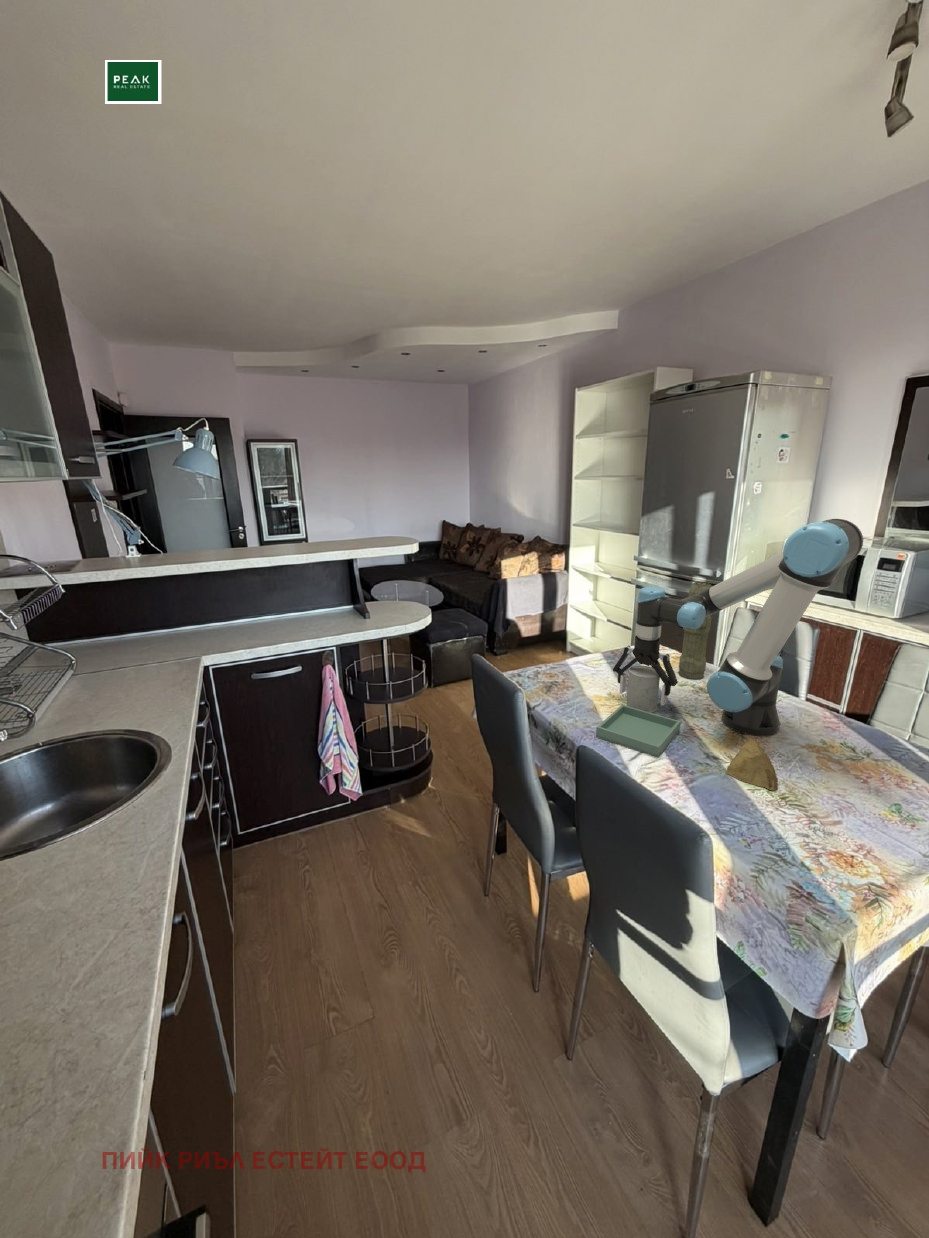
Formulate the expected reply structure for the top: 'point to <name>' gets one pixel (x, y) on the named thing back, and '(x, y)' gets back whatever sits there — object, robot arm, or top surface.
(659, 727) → the tray
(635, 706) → the speckled white canister
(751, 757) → the rock
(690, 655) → the thermos
